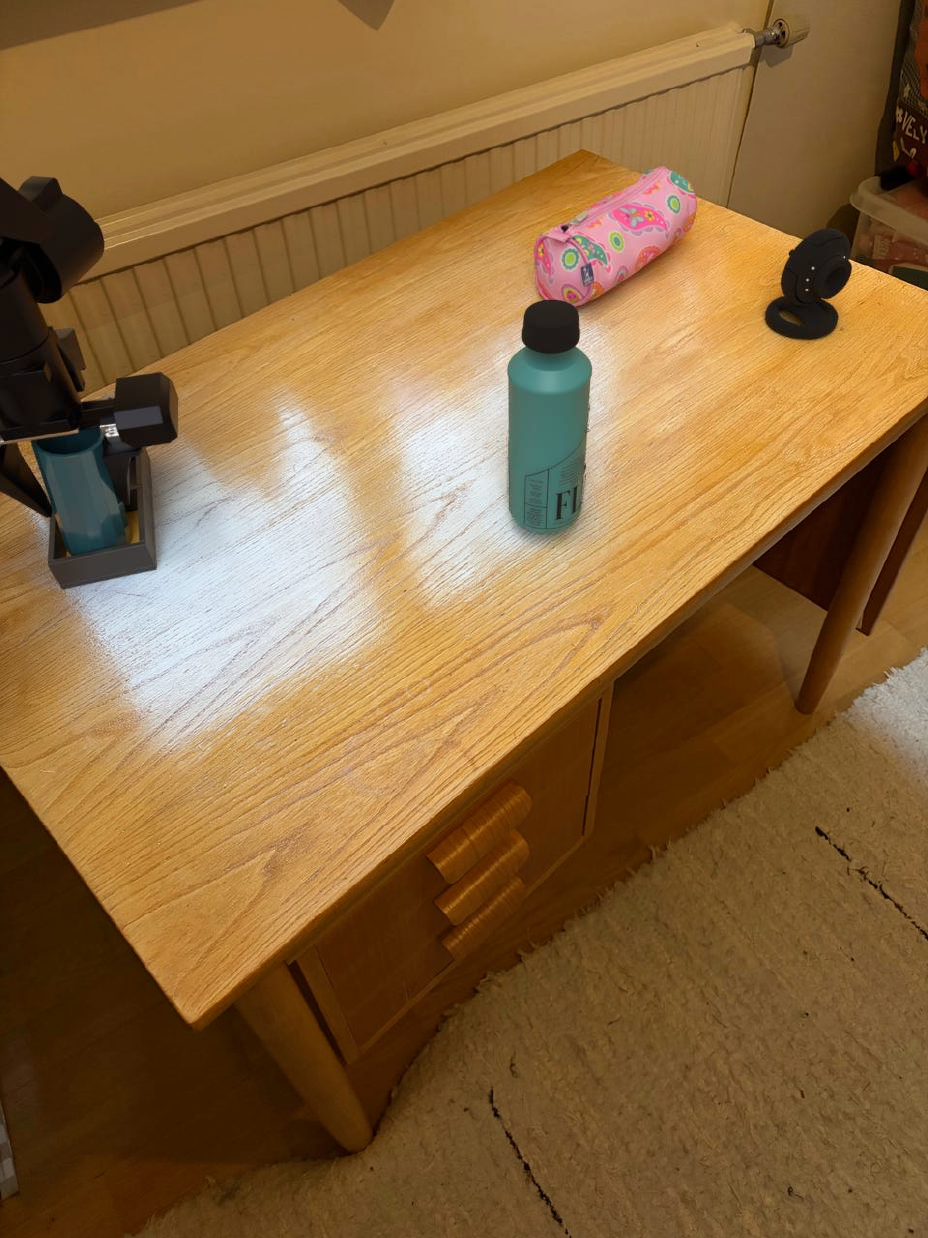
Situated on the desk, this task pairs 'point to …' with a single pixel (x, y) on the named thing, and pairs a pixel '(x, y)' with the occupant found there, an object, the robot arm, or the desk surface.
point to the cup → (82, 491)
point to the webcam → (812, 285)
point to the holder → (113, 559)
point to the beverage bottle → (548, 419)
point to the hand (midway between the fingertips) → (89, 507)
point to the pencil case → (614, 237)
